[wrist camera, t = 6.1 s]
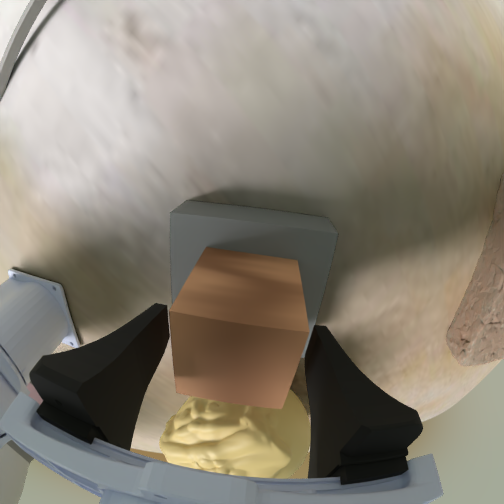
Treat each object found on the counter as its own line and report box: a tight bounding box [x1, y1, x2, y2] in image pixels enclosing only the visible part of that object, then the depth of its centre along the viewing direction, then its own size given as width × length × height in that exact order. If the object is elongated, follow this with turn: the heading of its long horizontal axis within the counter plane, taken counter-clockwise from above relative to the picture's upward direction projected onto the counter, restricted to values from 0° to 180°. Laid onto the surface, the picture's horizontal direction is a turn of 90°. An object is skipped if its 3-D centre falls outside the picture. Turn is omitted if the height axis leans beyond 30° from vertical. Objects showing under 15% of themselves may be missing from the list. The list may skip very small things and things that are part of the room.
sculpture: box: [159, 389, 311, 479], centre depth 19 cm, size 12×12×11 cm
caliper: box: [0, 0, 47, 100], centre depth 8 cm, size 20×1×6 cm, turn 133°
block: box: [169, 247, 309, 409], centre depth 13 cm, size 5×5×6 cm
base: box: [170, 200, 338, 358], centre depth 17 cm, size 9×9×3 cm
